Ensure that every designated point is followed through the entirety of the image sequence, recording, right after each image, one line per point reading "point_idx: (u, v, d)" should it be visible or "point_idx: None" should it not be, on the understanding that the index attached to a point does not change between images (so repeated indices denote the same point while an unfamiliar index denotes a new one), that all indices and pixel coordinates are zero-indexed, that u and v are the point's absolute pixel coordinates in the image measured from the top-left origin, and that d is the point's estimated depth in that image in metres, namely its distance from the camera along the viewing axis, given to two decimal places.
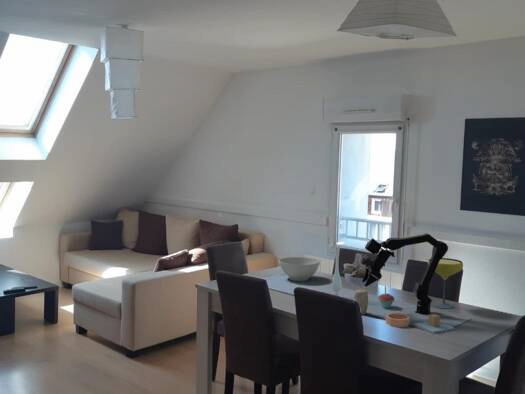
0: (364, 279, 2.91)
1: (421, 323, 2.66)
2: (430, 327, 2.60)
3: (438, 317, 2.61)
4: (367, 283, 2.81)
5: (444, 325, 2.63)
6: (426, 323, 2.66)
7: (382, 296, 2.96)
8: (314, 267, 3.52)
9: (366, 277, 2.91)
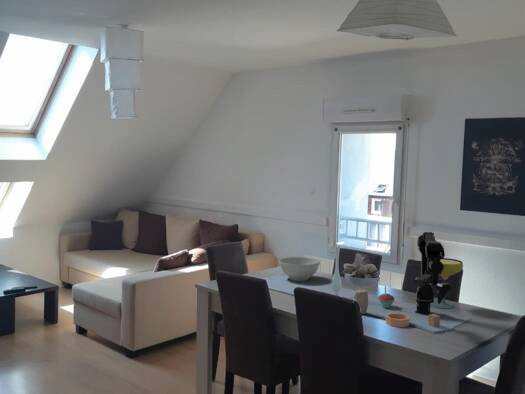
0: (425, 296, 2.65)
1: (421, 323, 2.66)
2: (430, 327, 2.60)
3: (438, 317, 2.61)
4: (440, 300, 2.57)
5: (444, 325, 2.63)
6: (426, 323, 2.66)
7: (382, 296, 2.96)
8: (314, 267, 3.52)
9: (426, 292, 2.66)
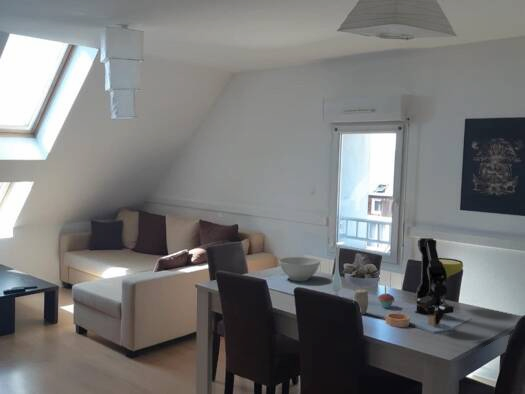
0: None
1: (421, 323, 2.66)
2: (430, 327, 2.60)
3: None
4: (438, 320, 2.60)
5: (444, 325, 2.63)
6: (426, 323, 2.66)
7: (382, 296, 2.96)
8: (314, 267, 3.52)
9: None
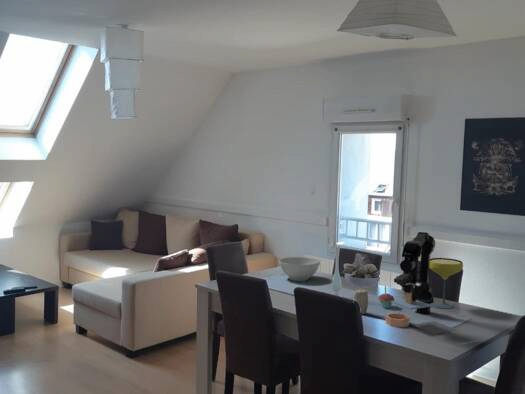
0: None
1: (398, 301, 2.68)
2: (407, 304, 2.62)
3: None
4: (414, 297, 2.62)
5: (421, 302, 2.66)
6: (403, 301, 2.68)
7: (382, 296, 2.96)
8: (314, 267, 3.52)
9: None
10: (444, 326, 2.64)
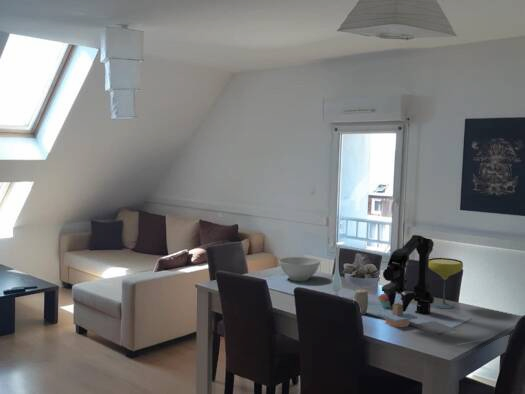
0: (392, 303, 2.71)
1: (386, 312, 2.71)
2: (393, 316, 2.65)
3: (401, 306, 2.66)
4: (405, 308, 2.63)
5: (408, 314, 2.68)
6: (390, 312, 2.71)
7: (382, 296, 2.96)
8: (314, 267, 3.52)
9: (392, 300, 2.71)
10: (444, 326, 2.64)
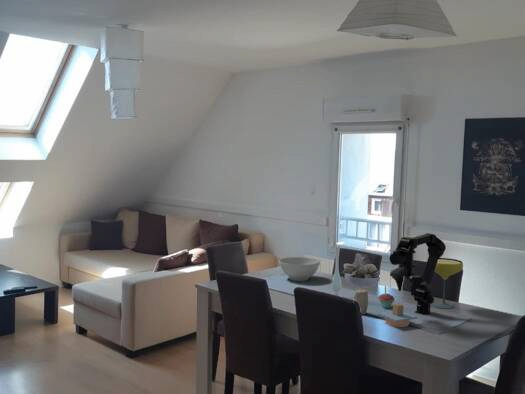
0: (400, 288, 2.80)
1: (386, 312, 2.71)
2: (393, 316, 2.65)
3: (401, 306, 2.66)
4: (413, 292, 2.72)
5: (408, 314, 2.68)
6: (390, 312, 2.71)
7: (382, 296, 2.96)
8: (314, 267, 3.52)
9: (400, 285, 2.81)
10: (444, 326, 2.64)
